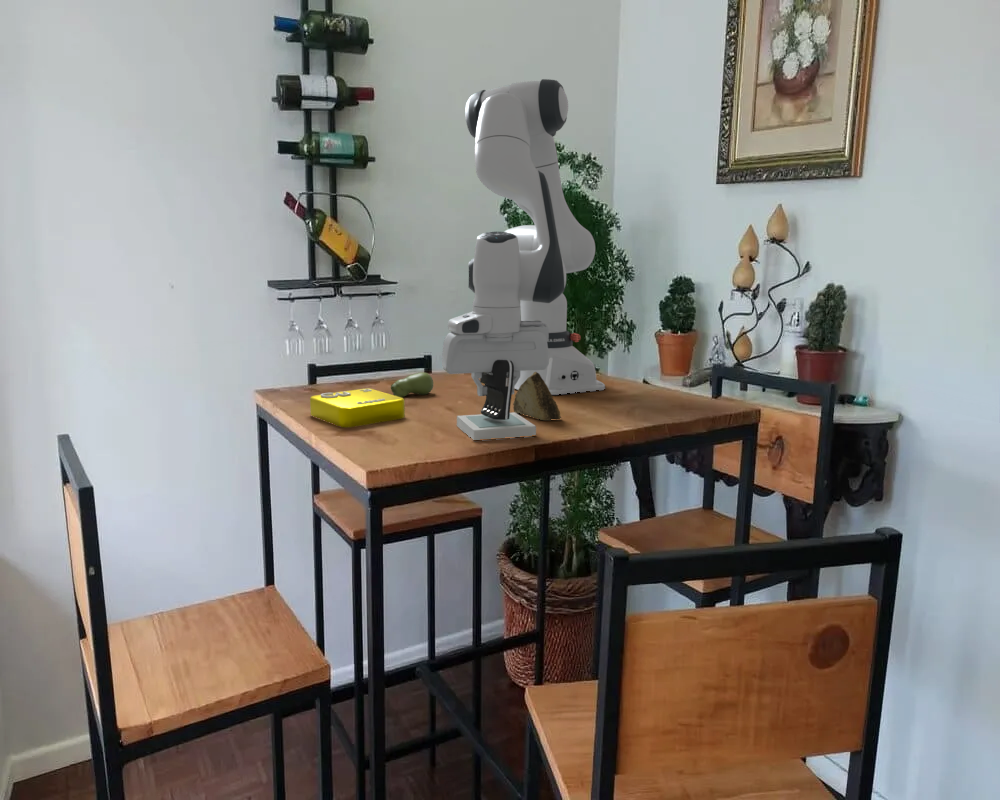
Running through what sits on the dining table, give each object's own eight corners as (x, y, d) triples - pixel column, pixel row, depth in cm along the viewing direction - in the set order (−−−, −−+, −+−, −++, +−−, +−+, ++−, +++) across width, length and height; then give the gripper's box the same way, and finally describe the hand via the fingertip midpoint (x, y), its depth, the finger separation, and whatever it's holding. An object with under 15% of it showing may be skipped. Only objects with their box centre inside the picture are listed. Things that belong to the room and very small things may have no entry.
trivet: (514, 422, 156) (515, 411, 155) (535, 436, 145) (536, 425, 144) (456, 425, 152) (456, 415, 152) (473, 441, 141) (473, 429, 141)
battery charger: (474, 413, 150) (479, 354, 148) (491, 413, 152) (496, 355, 150) (493, 421, 144) (498, 360, 142) (510, 421, 146) (515, 360, 144)
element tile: (343, 430, 149) (342, 406, 148) (306, 416, 160) (306, 393, 159) (408, 419, 159) (408, 396, 158) (369, 407, 170) (369, 385, 169)
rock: (499, 401, 164) (510, 404, 155) (522, 368, 165) (535, 369, 155) (539, 430, 167) (552, 435, 157) (561, 397, 167) (576, 400, 158)
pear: (434, 372, 180) (392, 382, 176) (438, 394, 181) (396, 404, 178) (427, 368, 185) (386, 377, 181) (430, 389, 186) (390, 399, 183)
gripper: (542, 318, 150) (541, 388, 153) (439, 321, 144) (439, 394, 147) (555, 322, 144) (553, 395, 147) (447, 324, 138) (448, 401, 141)
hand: (495, 394), depth 147 cm, fingers closed on battery charger, 4 cm apart
